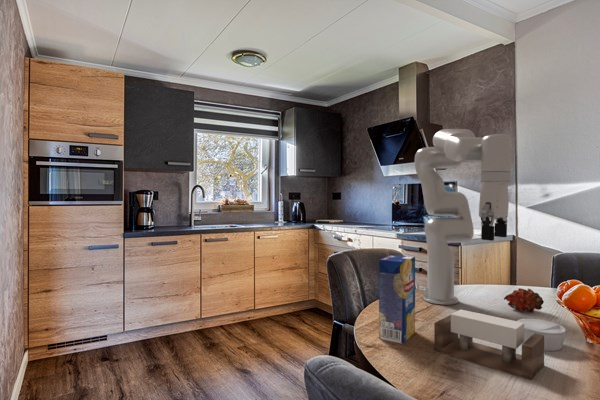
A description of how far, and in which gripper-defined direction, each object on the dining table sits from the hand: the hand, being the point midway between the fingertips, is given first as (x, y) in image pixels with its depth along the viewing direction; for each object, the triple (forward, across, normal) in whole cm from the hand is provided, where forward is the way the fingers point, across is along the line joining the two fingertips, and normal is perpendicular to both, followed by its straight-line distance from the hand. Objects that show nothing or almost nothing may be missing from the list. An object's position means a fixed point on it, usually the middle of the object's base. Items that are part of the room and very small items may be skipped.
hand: (494, 238), depth 107 cm
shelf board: (+22, +18, +5) cm, 29 cm away
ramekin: (+28, -1, +12) cm, 30 cm away
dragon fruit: (+29, -31, -1) cm, 42 cm away
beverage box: (+28, +21, -18) cm, 39 cm away
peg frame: (+27, +18, +5) cm, 33 cm away
